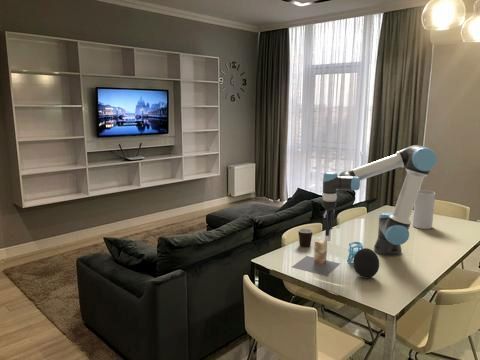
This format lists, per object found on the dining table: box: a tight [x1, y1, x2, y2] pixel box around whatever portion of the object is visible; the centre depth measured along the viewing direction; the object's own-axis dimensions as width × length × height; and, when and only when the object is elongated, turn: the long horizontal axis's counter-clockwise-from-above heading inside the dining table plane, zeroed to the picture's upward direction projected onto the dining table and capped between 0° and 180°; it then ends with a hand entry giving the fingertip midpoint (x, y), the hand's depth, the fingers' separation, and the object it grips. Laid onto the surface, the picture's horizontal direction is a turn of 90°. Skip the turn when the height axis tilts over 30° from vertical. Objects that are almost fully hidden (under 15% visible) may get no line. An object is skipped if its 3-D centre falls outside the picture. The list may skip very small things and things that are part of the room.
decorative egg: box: [352, 247, 380, 279], centre depth 194 cm, size 12×12×15 cm
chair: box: [346, 241, 364, 265], centre depth 212 cm, size 8×8×12 cm
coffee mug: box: [297, 228, 313, 248], centre depth 239 cm, size 12×9×10 cm
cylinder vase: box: [412, 189, 436, 230], centre depth 272 cm, size 12×12×25 cm
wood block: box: [313, 238, 328, 264], centre depth 212 cm, size 5×5×12 cm
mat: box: [291, 255, 341, 277], centre depth 209 cm, size 20×19×1 cm
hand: (327, 240), depth 220 cm, fingers closed
